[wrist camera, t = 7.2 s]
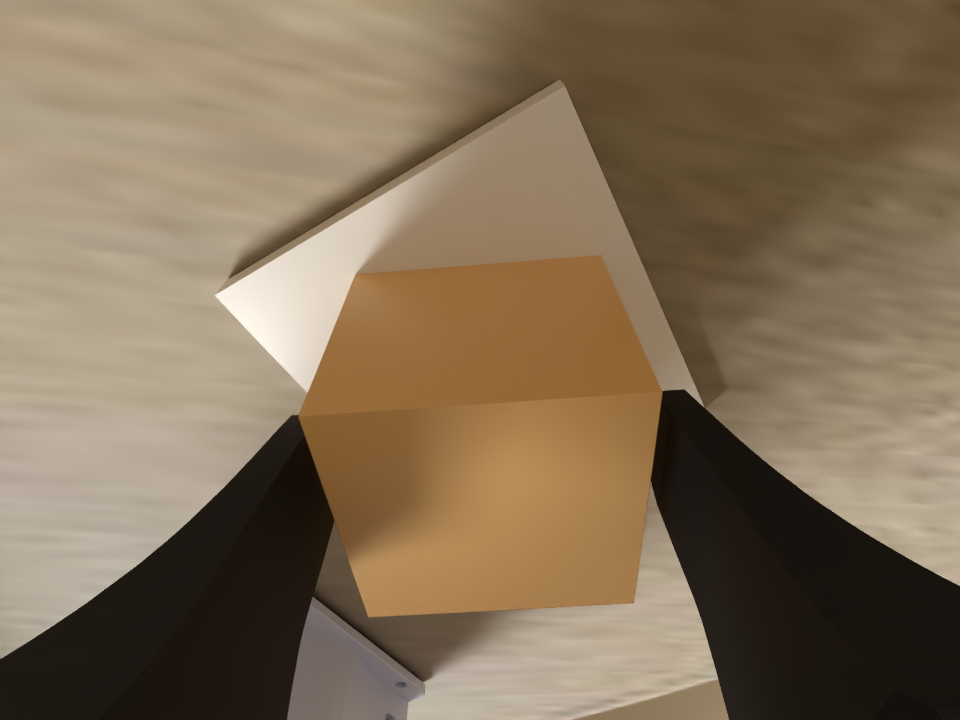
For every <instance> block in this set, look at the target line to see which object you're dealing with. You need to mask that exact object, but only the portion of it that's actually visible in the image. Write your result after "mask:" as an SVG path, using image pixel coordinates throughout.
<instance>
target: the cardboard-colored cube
mask: <svg viewBox="0 0 960 720" xmlns="http://www.w3.org/2000/svg"><path fill="white" fill-rule="evenodd" d="M661 400H662V389H661V387H660V385H659V383H658V381H657V378H656V376H655V374H654V372H653V370H652V367H651V365H650V363H649V361H648V359H647V356H646V354H645V352H644V350H643V348H642V345H641V343H640V341H639V339H638V336H637V334H636V332H635V330H634V328H633V325H632V323H631V321H630V319H629V317H628V314H627V312H626V310H625V308H624V306H623V303H622V301H621V299H620V297H619V294H618V292H617V290H616V288H615V286H614V283H613V281H612V279H611V277H610V275H609V272H608V270H607V268H606V266H605V264H604V261H603V259H602V257H601V255H598V256H585V257H572V258H559V259H546V260H533V261H520V262H507V263H495V264H482V265H469V266H456V267H443V268H430V269H417V270H404V271H391V272H378V273H365V274H355V276H354V279H353V281H352V284H351V286H350V289H349V291H348V294H347V296H346V299H345V301H344V304H343V306H342V309H341V311H340V314H339V316H338V319H337V321H336V324H335V326H334V329H333V331H332V334H331V336H330V339H329V341H328V344H327V346H326V349H325V351H324V354H323V356H322V359H321V361H320V364H319V366H318V369H317V371H316V374H315V376H314V379H313V381H312V383H311V386H310V388H309V391H308V393H307V396H306V398H305V401H304V403H303V406H302V408H301V411H300V413H299V416H298V417H299V420H300V423H301V426H302V429H303V431H304V434H305V437H306V440H307V443H308V446H309V449H310V451H311V454H312V457H313V460H314V463H315V466H316V469H317V472H318V474H319V477H320V480H321V483H322V486H323V489H324V492H325V494H326V497H327V500H328V503H329V506H330V509H331V512H332V515H333V517H334V520H335V523H336V526H337V529H338V532H339V535H340V537H341V540H342V543H343V546H344V549H345V552H346V555H347V558H348V560H349V563H350V566H351V569H352V572H353V575H354V578H355V580H356V583H357V586H358V589H359V592H360V595H361V598H362V601H363V603H364V606H365V609H366V612H367V615H368V617H384V616H403V615H422V614H441V613H460V612H478V611H497V610H516V609H535V608H554V607H573V606H592V605H611V604H629V603H634V599H635V592H636V585H637V577H638V570H639V562H640V555H641V548H642V540H643V533H644V525H645V518H646V511H647V503H648V496H649V488H650V481H651V474H652V466H653V459H654V451H655V444H656V437H657V429H658V422H659V414H660V407H661Z"/></svg>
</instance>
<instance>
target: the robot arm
mask: <svg viewBox="0 0 960 720" xmlns="http://www.w3.org/2000/svg"><path fill="white" fill-rule="evenodd" d="M298 416H299V415H293V416H291V417H290V418H289V419H288V420H287V421H286V422H285V423H284V424H283V425H282V426H281V427H280V428H279V429H278V430H277V431H276V432H275V434H274V435H273V436H272V437H271V438H270V439H269V440H268V441H267V442H266V443H265V445H264V446H263V447H262V448H261V449H260V450H259V451H258V452H257V453H256V454H255V455H254V457H253V458H252V459H251V460H250V461H249V462H248V463H247V464H246V465H245V466H244V467H243V468H242V469H241V470H240V471H239V472H238V473H237V475H236V476H235V477H234V478H233V479H232V480H231V481H230V482H229V483H228V484H227V485H226V486H225V487H224V488H223V489H222V490H221V491H220V492H219V493H218V494H217V495H216V496H215V497H214V498H213V499H212V500H211V501H210V502H209V503H208V504H206V505H205V506H204V507H203V508H202V509H201V510H200V511H199V512H198V513H197V514H196V515H195V516H194V517H193V518H192V519H191V520H190V521H189V522H188V523H187V524H186V525H185V526H183V527H182V528H181V529H180V530H179V531H178V532H177V533H176V534H174V535H173V536H172V537H171V538H170V539H169V540H168V541H166V542H165V543H164V544H163V545H162V546H160V547H159V548H158V549H157V550H156V551H154V552H153V553H152V554H151V555H150V556H148V557H147V558H146V559H145V560H143V561H142V562H141V563H140V564H138V565H137V566H136V567H135V568H133V569H132V570H131V571H129V572H128V573H127V574H125V575H124V576H123V577H121V578H120V579H119V580H117V581H116V582H115V583H113V584H112V585H110V586H109V587H108V588H106V589H105V590H104V591H102V592H101V593H100V594H98V595H97V596H96V597H94V598H93V599H92V600H90V601H89V602H88V603H86V604H85V605H83V606H82V607H80V608H79V609H78V610H76V611H75V612H73V613H72V614H70V615H69V616H67V617H66V618H64V619H63V620H61V621H60V622H58V623H57V624H55V625H54V626H52V627H51V628H49V629H48V630H46V631H45V632H43V633H41V634H40V635H38V636H37V637H35V638H34V639H32V640H31V641H29V642H27V643H26V644H24V645H23V646H21V647H20V648H18V649H16V650H15V651H13V652H11V653H10V654H8V655H7V656H5V657H3V658H2V659H0V720H407V710H408V702H409V701H412V700H416V699H419V698H422V697H423V696H424V695H425V684H424V683H423V682H422V681H420V680H419V679H418V678H416V677H415V676H414V675H413V674H411V673H410V672H409V671H408V670H406V669H405V668H404V667H402V666H401V665H400V664H399V663H397V662H396V661H395V660H393V659H392V658H391V657H390V656H388V655H387V654H386V653H384V652H383V651H382V650H381V649H379V648H378V647H377V646H375V645H374V644H373V643H372V642H370V641H369V640H368V639H366V638H365V637H364V636H363V635H361V634H360V633H359V632H357V631H356V630H355V629H354V628H352V627H351V626H350V625H348V624H347V623H346V622H345V621H343V620H342V619H341V618H340V617H338V616H337V615H336V614H334V613H333V612H332V611H331V610H329V609H328V608H327V607H325V606H324V605H323V604H322V603H320V602H319V601H318V600H316V599H315V598H314V597H313V594H314V591H315V587H316V584H317V580H318V577H319V573H320V570H321V567H322V563H323V560H324V556H325V553H326V549H327V546H328V542H329V538H330V535H331V531H332V528H333V524H334V517H333V515H332V512H331V509H330V506H329V503H328V500H327V497H326V494H325V492H324V489H323V486H322V483H321V480H320V477H319V474H318V472H317V469H316V466H315V463H314V460H313V457H312V454H311V451H310V449H309V446H308V443H307V440H306V437H305V434H304V431H303V429H302V426H301V423H300V420H299V417H298ZM651 483H652V487H653V491H654V494H655V498H656V502H657V505H658V508H659V510H660V513H661V516H662V518H663V521H664V523H665V526H666V529H667V531H668V534H669V536H670V539H671V541H672V544H673V546H674V549H675V551H676V554H677V557H678V559H679V562H680V564H681V567H682V569H683V572H684V574H685V577H686V579H687V582H688V584H689V587H690V589H691V592H692V594H693V597H694V599H695V602H696V605H697V608H698V611H699V614H700V617H701V620H702V623H703V626H704V630H705V633H706V637H707V640H708V644H709V647H710V651H711V654H712V658H713V661H714V665H715V668H716V672H717V676H718V679H719V683H720V687H721V691H722V694H723V698H724V702H725V705H726V709H727V713H728V716H729V720H960V586H959V585H957V584H955V583H953V582H951V581H949V580H947V579H945V578H943V577H941V576H939V575H937V574H935V573H934V572H932V571H930V570H928V569H926V568H924V567H922V566H921V565H919V564H917V563H915V562H913V561H912V560H910V559H908V558H906V557H905V556H903V555H901V554H900V553H898V552H896V551H894V550H893V549H891V548H889V547H888V546H886V545H884V544H882V543H881V542H879V541H877V540H876V539H874V538H872V537H871V536H869V535H867V534H866V533H864V532H863V531H861V530H859V529H858V528H856V527H855V526H853V525H852V524H850V523H849V522H847V521H846V520H844V519H843V518H841V517H840V516H838V515H837V514H835V513H834V512H832V511H831V510H829V509H828V508H826V507H825V506H823V505H822V504H820V503H819V502H817V501H816V500H815V499H813V498H812V497H810V496H809V495H808V494H806V493H805V492H803V491H802V490H801V489H799V488H798V487H797V486H796V485H794V484H793V483H792V482H790V481H789V480H788V479H786V478H785V477H784V476H783V475H781V474H780V473H779V472H777V471H776V470H775V469H774V468H772V467H771V466H770V465H769V464H767V463H766V462H765V461H764V460H762V459H761V458H760V457H759V456H758V455H757V454H755V453H754V452H753V451H752V450H751V449H750V448H748V447H747V446H746V445H745V444H744V443H743V442H741V441H740V440H739V439H738V438H737V437H736V436H735V435H734V434H732V433H731V432H730V431H729V430H728V429H727V428H726V427H725V426H724V425H723V424H721V423H720V422H719V421H718V420H717V419H716V418H715V417H714V416H713V415H712V414H711V413H710V412H708V411H707V410H706V409H705V408H704V407H703V406H702V405H701V404H700V403H699V402H698V401H697V400H695V399H694V398H693V397H692V396H691V395H690V394H689V393H688V392H687V391H686V390H685V389H681V390H666V391H662V400H661V407H660V414H659V422H658V429H657V437H656V444H655V451H654V459H653V466H652V474H651Z"/></svg>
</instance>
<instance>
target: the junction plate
mask: <svg viewBox="0 0 960 720" xmlns="http://www.w3.org/2000/svg"><path fill="white" fill-rule="evenodd" d="M598 255H601V257H602V259H603V261H604V264H605V266H606V268H607V270H608V272H609V275H610V277H611V279H612V281H613V283H614V286H615V288H616V290H617V292H618V294H619V297H620V299H621V301H622V303H623V306H624V308H625V310H626V312H627V314H628V317H629V319H630V321H631V323H632V325H633V328H634V330H635V332H636V334H637V336H638V339H639V341H640V343H641V345H642V348H643V350H644V352H645V354H646V356H647V359H648V361H649V363H650V365H651V367H652V370H653V372H654V374H655V376H656V378H657V381H658V383H659V385H660V387H661V389H662V391H666V390H681V389H685V390H686V391H687V392H688V393H689V394H690V395H691V396H692V397H693V398H694V399H695V400H697V401H698V402H699V403H700V404H701V405H702V406H703V407H704V405H703V402H702V400H701V398H700V396H699V393H698V391H697V389H696V386H695V384H694V382H693V379H692V377H691V375H690V372H689V370H688V368H687V366H686V363H685V361H684V359H683V356H682V354H681V352H680V349H679V347H678V345H677V343H676V340H675V338H674V336H673V333H672V331H671V329H670V326H669V324H668V322H667V320H666V317H665V315H664V313H663V310H662V308H661V306H660V303H659V301H658V299H657V297H656V294H655V292H654V290H653V287H652V285H651V283H650V280H649V278H648V276H647V274H646V271H645V269H644V267H643V264H642V262H641V260H640V257H639V255H638V253H637V251H636V248H635V246H634V244H633V241H632V239H631V237H630V234H629V232H628V230H627V228H626V225H625V223H624V221H623V218H622V216H621V214H620V211H619V209H618V207H617V205H616V202H615V200H614V198H613V195H612V193H611V191H610V188H609V186H608V184H607V181H606V179H605V177H604V175H603V172H602V170H601V168H600V165H599V163H598V161H597V158H596V156H595V154H594V152H593V149H592V147H591V145H590V142H589V140H588V138H587V135H586V133H585V131H584V129H583V126H582V124H581V122H580V119H579V117H578V115H577V112H576V110H575V108H574V106H573V103H572V101H571V99H570V96H569V94H568V92H567V89H566V87H565V85H564V84H563V83H562V82H561V80H560V79H559V80H558V81H556V82H554V83H553V84H551V85H549V86H548V87H546V88H544V89H543V90H541V91H539V92H538V93H536V94H535V95H533V96H531V97H530V98H528V99H526V100H525V101H523V102H521V103H520V104H518V105H516V106H515V107H513V108H511V109H510V110H508V111H506V112H505V113H503V114H501V115H500V116H498V117H496V118H495V119H493V120H491V121H490V122H488V123H486V124H485V125H483V126H481V127H480V128H478V129H476V130H475V131H473V132H472V133H470V134H468V135H467V136H465V137H463V138H462V139H460V140H458V141H457V142H455V143H453V144H452V145H450V146H448V147H447V148H445V149H443V150H442V151H440V152H438V153H437V154H435V155H433V156H432V157H430V158H428V159H427V160H425V161H423V162H422V163H420V164H418V165H417V166H415V167H413V168H412V169H410V170H409V171H407V172H405V173H404V174H402V175H400V176H399V177H397V178H395V179H394V180H392V181H390V182H389V183H387V184H385V185H384V186H382V187H380V188H379V189H377V190H375V191H374V192H372V193H370V194H369V195H367V196H365V197H364V198H362V199H360V200H359V201H357V202H355V203H354V204H352V205H351V206H349V207H347V208H346V209H344V210H342V211H341V212H339V213H337V214H336V215H334V216H332V217H331V218H329V219H327V220H326V221H324V222H322V223H321V224H319V225H317V226H316V227H314V228H312V229H311V230H309V231H307V232H306V233H304V234H302V235H301V236H299V237H297V238H296V239H294V240H292V241H291V242H289V243H288V244H286V245H284V246H283V247H281V248H279V249H278V250H276V251H274V252H273V253H271V254H269V255H268V256H266V257H264V258H263V259H261V260H259V261H258V262H256V263H254V264H253V265H251V266H249V267H248V268H246V269H244V270H243V271H241V272H239V273H238V274H236V275H234V276H233V277H231V278H229V279H228V280H227V281H226V282H225V283H224V284H223V286H222V287H221V288H220V289H219V291H218V292H217V293H216V294H215V296H216V297H217V298H218V299H219V300H220V301H221V302H222V304H223V305H224V306H225V307H226V308H227V309H228V310H229V311H230V312H231V313H232V314H233V315H234V316H235V317H236V318H237V319H238V320H239V321H240V323H241V324H242V325H243V326H244V327H245V328H246V329H247V330H248V331H249V332H250V333H251V334H252V335H253V336H254V337H255V338H256V339H257V340H258V342H259V343H260V344H261V345H262V346H263V347H264V348H265V349H266V350H267V351H268V352H269V353H270V354H271V355H272V356H273V357H274V358H275V359H276V361H277V362H278V363H279V364H280V365H281V366H282V367H283V368H284V369H285V370H286V371H287V372H288V373H289V374H290V375H291V376H292V377H293V378H294V380H295V381H296V382H297V383H298V384H299V385H300V386H301V387H302V388H303V389H304V390H305V391H306V392H307V393H308V391H309V388H310V386H311V383H312V381H313V379H314V376H315V374H316V371H317V369H318V366H319V364H320V361H321V359H322V356H323V354H324V351H325V349H326V346H327V344H328V341H329V339H330V336H331V334H332V331H333V329H334V326H335V324H336V321H337V319H338V316H339V314H340V311H341V309H342V306H343V304H344V301H345V299H346V296H347V294H348V291H349V289H350V286H351V284H352V281H353V279H354V276H355V274H365V273H378V272H391V271H404V270H417V269H430V268H443V267H456V266H469V265H482V264H495V263H507V262H520V261H533V260H546V259H559V258H572V257H585V256H598ZM704 408H705V407H704Z"/></svg>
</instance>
